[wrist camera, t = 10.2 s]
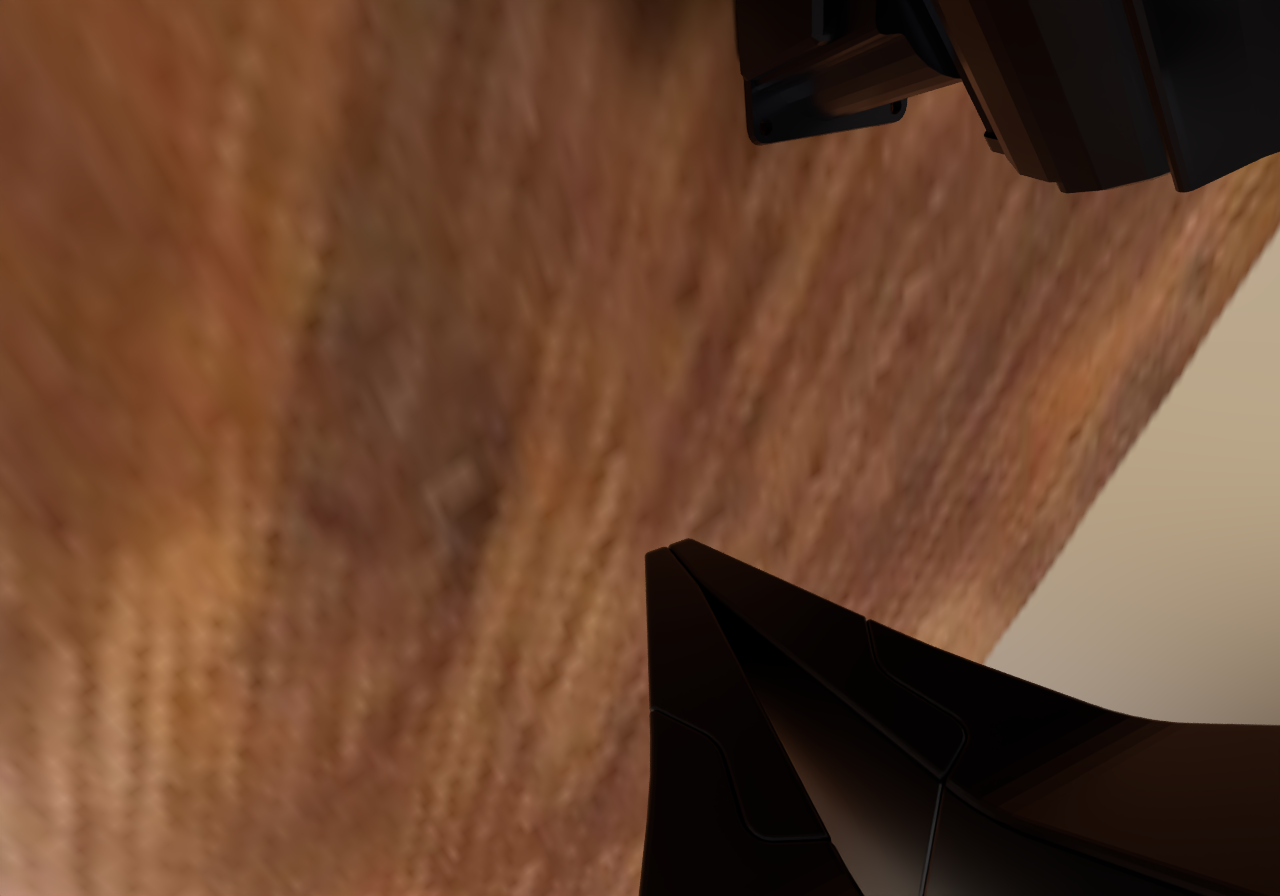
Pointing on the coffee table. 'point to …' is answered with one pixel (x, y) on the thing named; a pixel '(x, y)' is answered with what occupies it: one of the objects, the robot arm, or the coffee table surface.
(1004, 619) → the coffee table surface
